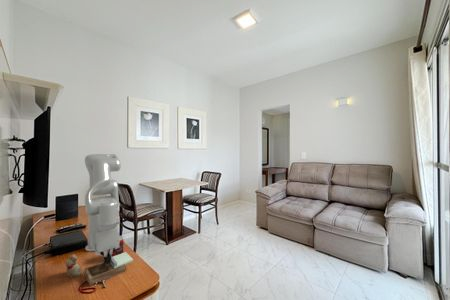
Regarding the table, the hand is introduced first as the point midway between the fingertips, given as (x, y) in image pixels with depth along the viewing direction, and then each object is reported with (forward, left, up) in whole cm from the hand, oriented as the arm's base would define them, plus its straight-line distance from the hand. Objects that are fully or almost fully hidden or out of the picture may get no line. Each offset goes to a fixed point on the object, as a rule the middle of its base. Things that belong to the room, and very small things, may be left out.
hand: (107, 262), depth 94 cm
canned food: (-12, +7, -5) cm, 15 cm away
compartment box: (0, -1, -5) cm, 5 cm away
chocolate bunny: (-11, -12, -5) cm, 17 cm away
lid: (0, +6, -1) cm, 6 cm away
